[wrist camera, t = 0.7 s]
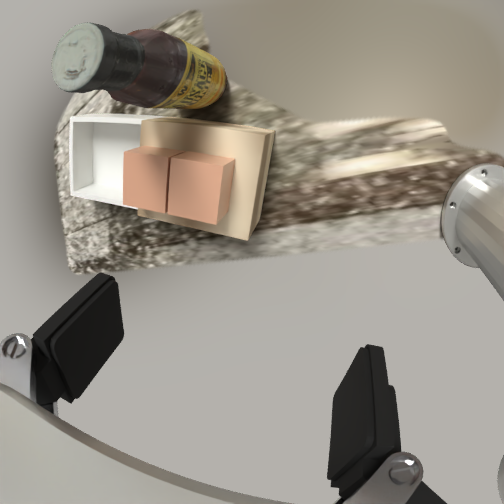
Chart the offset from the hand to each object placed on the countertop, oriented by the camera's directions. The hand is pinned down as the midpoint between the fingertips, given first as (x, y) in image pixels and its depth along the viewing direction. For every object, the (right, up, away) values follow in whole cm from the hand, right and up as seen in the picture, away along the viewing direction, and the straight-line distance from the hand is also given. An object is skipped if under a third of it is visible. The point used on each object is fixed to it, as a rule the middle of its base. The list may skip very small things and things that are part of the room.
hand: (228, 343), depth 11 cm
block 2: (-3, +10, +17) cm, 20 cm away
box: (-15, +15, +24) cm, 32 cm away
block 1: (-8, +11, +18) cm, 22 cm away
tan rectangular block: (-3, +13, +23) cm, 26 cm away
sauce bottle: (-4, +22, +19) cm, 29 cm away
